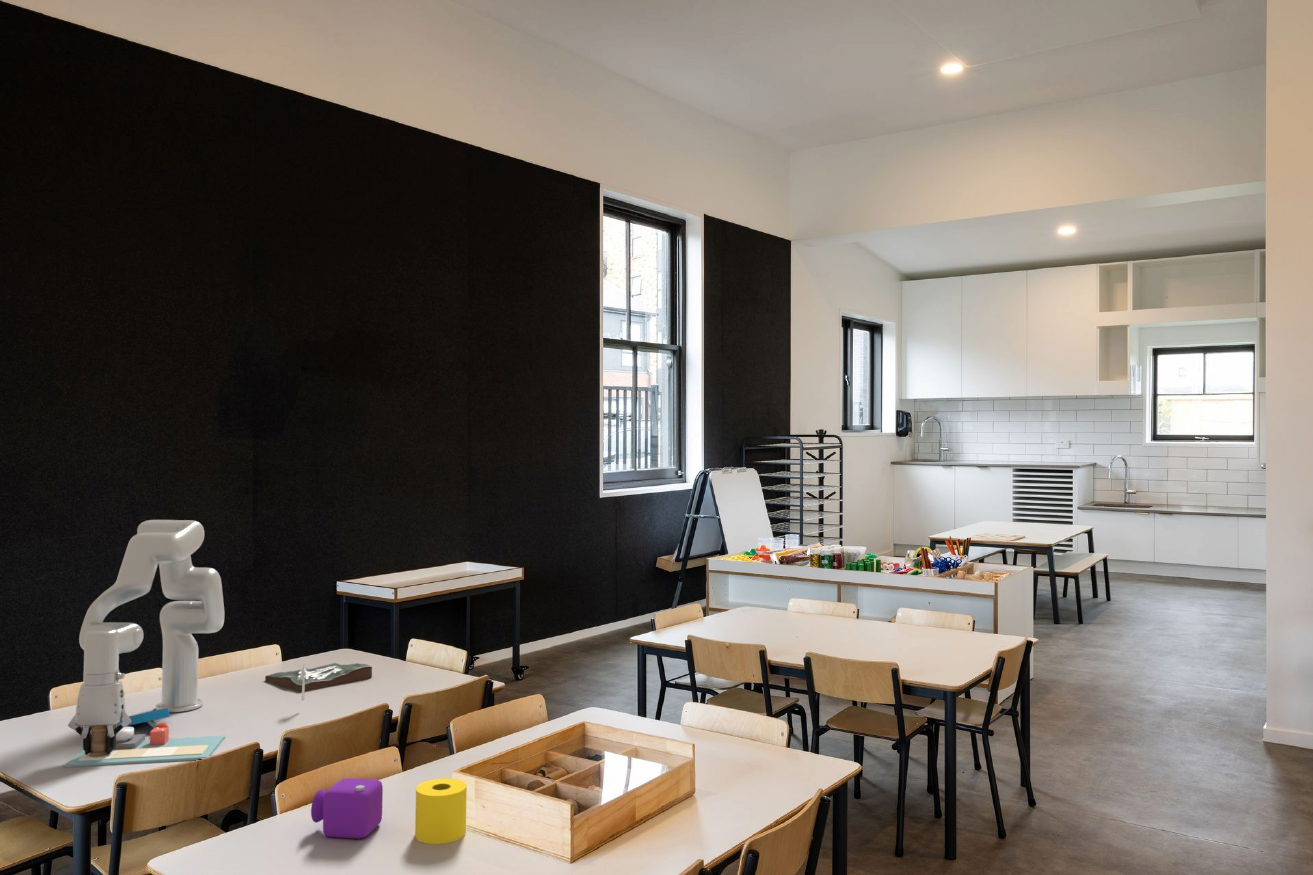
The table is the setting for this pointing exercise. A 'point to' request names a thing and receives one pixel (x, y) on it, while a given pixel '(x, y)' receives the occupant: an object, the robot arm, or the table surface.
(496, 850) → the table surface
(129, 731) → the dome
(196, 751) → the board
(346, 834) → the toy camera
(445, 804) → the yellow toilet paper roll
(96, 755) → the pawn
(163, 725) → the lever
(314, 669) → the relief map
